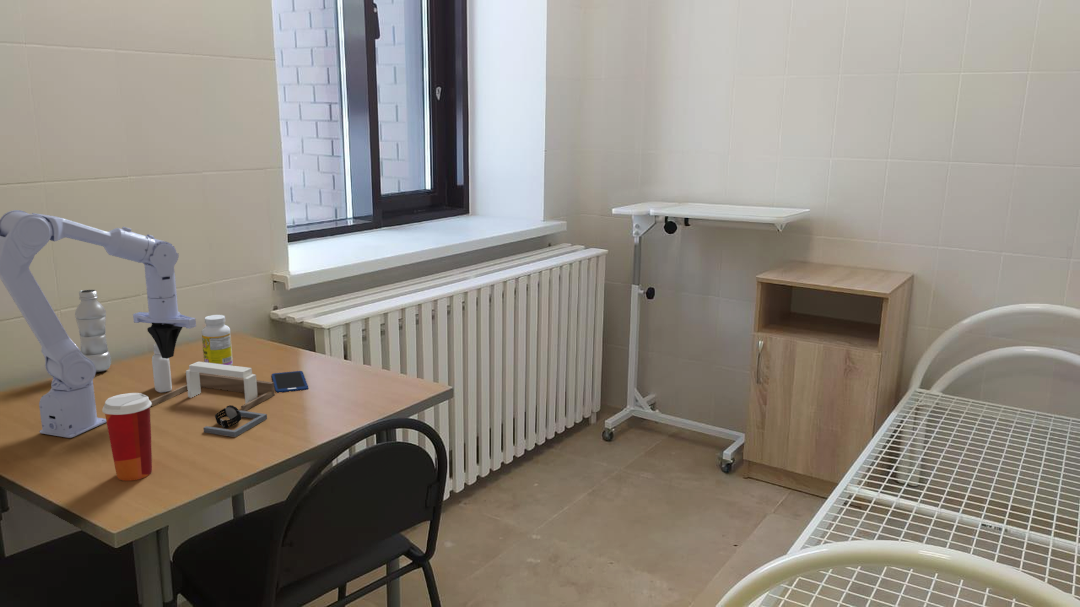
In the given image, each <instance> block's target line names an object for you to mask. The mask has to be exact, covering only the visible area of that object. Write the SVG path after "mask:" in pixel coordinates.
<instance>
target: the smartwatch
mask: <svg viewBox="0 0 1080 607" xmlns="http://www.w3.org/2000/svg"><path fill="white" fill-rule="evenodd" d="M225 417H226V418H228V419H223V418H225ZM214 418H215V422H216V424H217V425H218V426H221V428H222V429H228V428H231V427H232V426H233V427H234V426H235V425H237V424H238V423H240V421H242V418H243V417H241V413H240V411H239V409H238V408H237V407H236V406H234V405H227V406H226V407H224V408H222V409H221V410H219V411H217V412H216V413H215V414H214Z"/></svg>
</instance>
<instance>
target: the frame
mask: <svg viewBox="0 0 1080 607" xmlns="http://www.w3.org/2000/svg"><path fill="white" fill-rule="evenodd" d="M238 410H239V409H238ZM239 411H240V413H241V418H248V419H251V420H250V421H247V423H245V424H243V425H241V426H239V427H238V428H236V429H228V428H223V427H214V426H207V425H206V426H204V427H203V428H202V429H203V433H206V434H213V435H217V436H218V435H219V436H226V437H232V438H236V437H238V436H240V435H242V434H244V433H245V432H246V431H248V430H251V429H252V428H254V427H255V426H257V425H259V424H260V423H262V422H264V421H266V420H267V419H268V414H267V413H260V412H254V411H248V410H246V411H242V410H241V409H240V410H239Z"/></svg>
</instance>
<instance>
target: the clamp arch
mask: <svg viewBox="0 0 1080 607" xmlns="http://www.w3.org/2000/svg"><path fill="white" fill-rule="evenodd" d="M199 373H204V374H212V375H220V376H227V377H235V378H243V379H244V391H245V393H244V401H245V402H244V403H245V404H246V403H248V402H250V401H252V400H254V399H256V398H257V397H259V395H257V381H256V380H257V374H254V373H253V368H252V367H247V366H238V365H232V366H231V365H223V364H215V363H207V362H204V361H196V362H194V363H192V364H189V365H188V369H187V370H185V376H186V377H185V378H186V385H187V390H188V391H187V397H188V398H190V399H192V397H193V398H195V397H197V396H199V395H201V394H202V389H201V388H202V387H200V376H199ZM200 393H201V394H200ZM198 394H199V395H198ZM196 395H197V396H196ZM194 396H195V397H194Z"/></svg>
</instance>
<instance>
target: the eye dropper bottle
mask: <svg viewBox="0 0 1080 607" xmlns="http://www.w3.org/2000/svg"><path fill="white" fill-rule="evenodd" d="M153 353H154V354H152V357H151V365H152V366H151V367H152V374H153V383H154V390H155V391H156V392H158V393H166V392H167V393H169V392H171V391H173V390H172V389H173V387H172V375H171V374H172V372H171V363H170V358H168V359H166V358H162V356H161V354H160V351H159V349H158V346H157V344H156V343H154V344H153Z"/></svg>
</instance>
